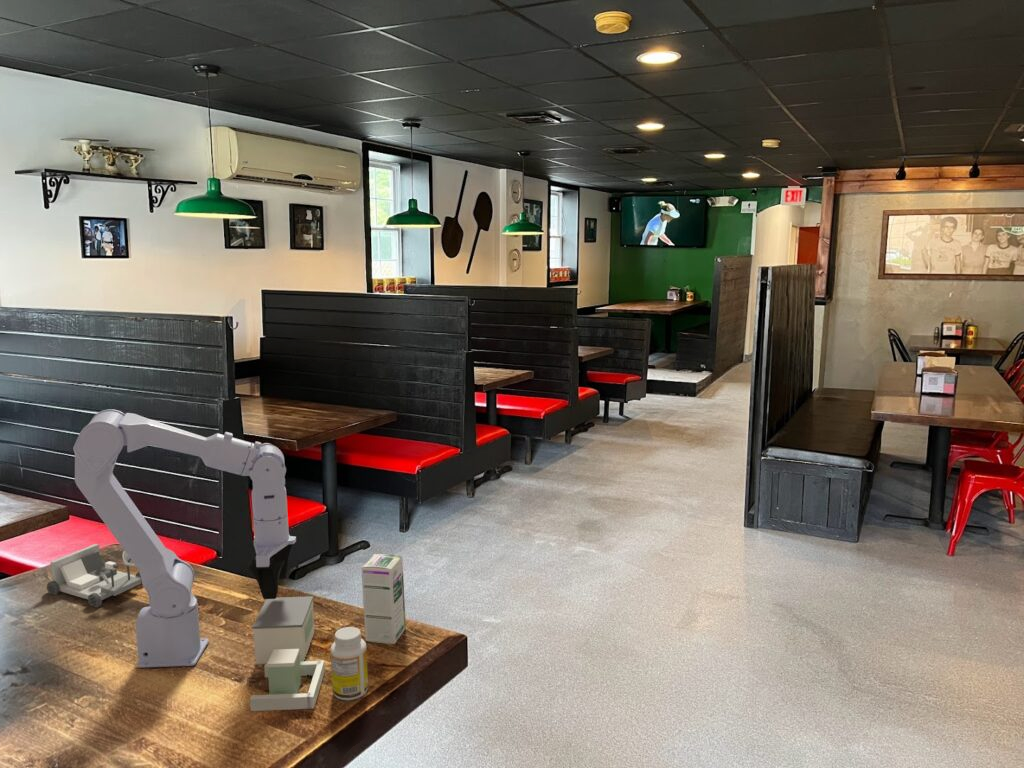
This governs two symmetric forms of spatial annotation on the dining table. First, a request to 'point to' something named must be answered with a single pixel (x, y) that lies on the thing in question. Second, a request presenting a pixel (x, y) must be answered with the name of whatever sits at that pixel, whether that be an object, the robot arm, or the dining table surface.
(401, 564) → the syrup box
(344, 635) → the supplement bottle
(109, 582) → the toy car
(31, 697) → the dining table surface
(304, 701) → the dock
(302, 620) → the box
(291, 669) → the block
